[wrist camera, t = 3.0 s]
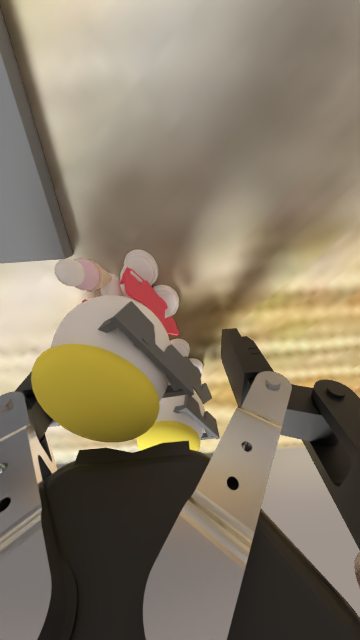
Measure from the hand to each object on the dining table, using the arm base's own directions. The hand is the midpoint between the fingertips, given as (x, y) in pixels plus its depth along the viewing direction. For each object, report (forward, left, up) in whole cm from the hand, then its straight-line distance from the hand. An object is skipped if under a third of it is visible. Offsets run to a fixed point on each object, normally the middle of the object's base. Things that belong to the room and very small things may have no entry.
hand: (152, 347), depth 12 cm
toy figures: (0, 0, -3) cm, 3 cm away
